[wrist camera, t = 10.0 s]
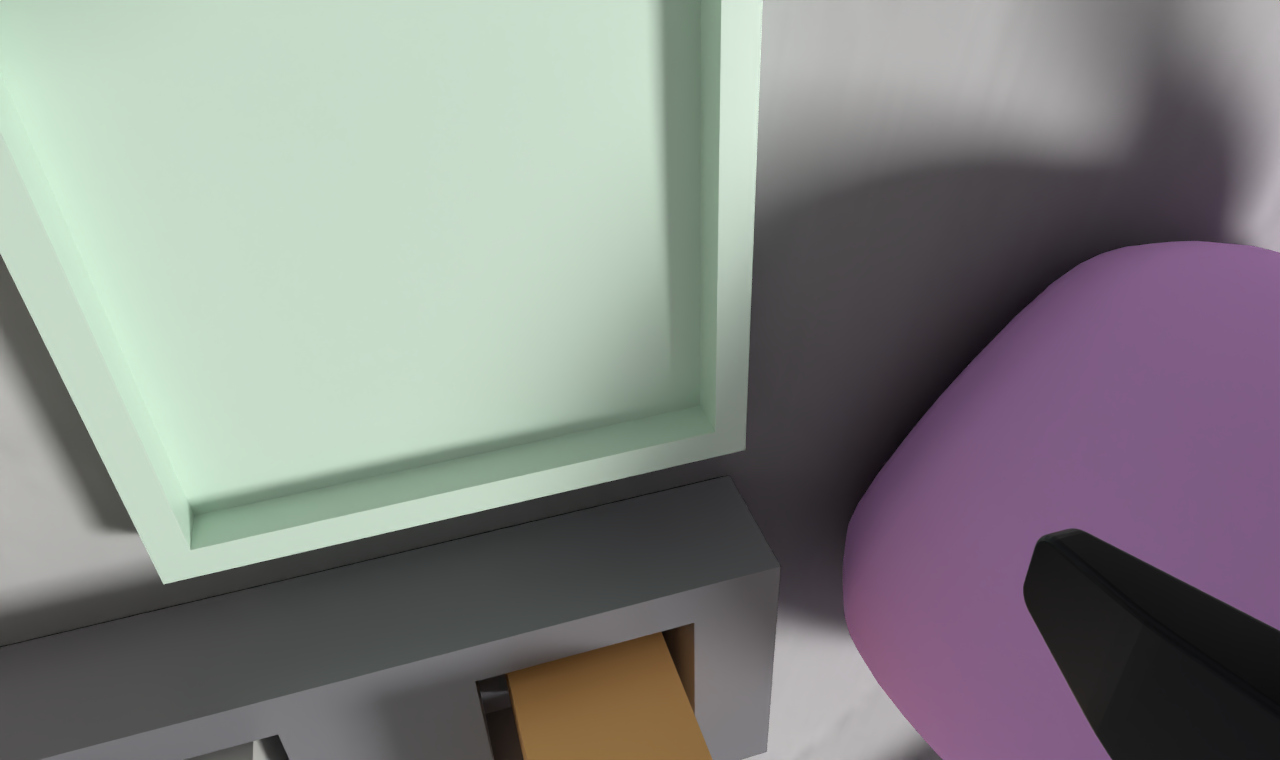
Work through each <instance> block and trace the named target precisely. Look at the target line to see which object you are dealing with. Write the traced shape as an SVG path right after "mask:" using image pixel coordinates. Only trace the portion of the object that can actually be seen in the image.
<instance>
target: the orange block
mask: <svg viewBox="0 0 1280 760" xmlns="http://www.w3.org/2000/svg"><path fill="white" fill-rule="evenodd" d="M505 677H506V682H507V687H508V692H509V697H510V701H511V706H512V710H513V715H514V719H515V724H516V728H517V733H518V737H519V742H520V746H521V750H522V755H523V759H524V760H712V757H711V755H710V752H709V750H708V747H707V745H706V742H705V740H704V737H703V735H702V732H701V730H700V727H699V725H698V722H697V720H696V717H695V715H694V712H693V710H692V707H691V705H690V702H689V700H688V697H687V695H686V692H685V690H684V687H683V685H682V682H681V680H680V677H679V675H678V672H677V670H676V667H675V665H674V662H673V660H672V657H671V655H670V652H669V650H668V647H667V645H666V642H665V640H664V637H663V635H662V632H658V633H654V634H650V635H647V636H643V637H639V638H635V639H632V640H628V641H624V642H620V643H617V644H613V645H609V646H606V647H602V648H598V649H594V650H591V651H587V652H583V653H580V654H576V655H572V656H568V657H565V658H561V659H557V660H553V661H550V662H546V663H542V664H539V665H535V666H531V667H527V668H524V669H520V670H516V671H512V672H509V673H505Z"/></svg>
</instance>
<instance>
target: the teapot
mask: <svg viewBox="0 0 1280 760" xmlns="http://www.w3.org/2000/svg"><path fill="white" fill-rule="evenodd" d="M1070 528H1076V529H1080V530H1083V531H1086V532H1088V533H1090V534H1092V535H1094V536H1096V537H1098V538H1100V539H1101V540H1103V541H1105V542H1107V543H1109V544H1111V545H1113V546H1115V547H1117V548H1119V549H1121V550H1123V551H1125V552H1127V553H1129V554H1131V555H1133V556H1135V557H1137V558H1139V559H1141V560H1143V561H1145V562H1147V563H1149V564H1151V565H1152V566H1154V567H1156V568H1158V569H1160V570H1162V571H1164V572H1166V573H1168V574H1170V575H1172V576H1174V577H1176V578H1178V579H1180V580H1182V581H1184V582H1186V583H1188V584H1190V585H1192V586H1194V587H1196V588H1198V589H1200V590H1201V591H1203V592H1205V593H1207V594H1209V595H1211V596H1213V597H1215V598H1217V599H1219V600H1221V601H1223V602H1225V603H1227V604H1229V605H1231V606H1233V607H1235V608H1237V609H1239V610H1241V611H1243V612H1245V613H1247V614H1249V615H1251V616H1252V617H1254V618H1256V619H1258V620H1260V621H1262V622H1264V623H1266V624H1268V625H1270V626H1272V627H1274V628H1276V629H1278V630H1280V253H1279V252H1275V251H1271V250H1267V249H1263V248H1259V247H1255V246H1248V245H1237V244H1227V243H1216V242H1203V241H1173V242H1163V243H1153V244H1144V245H1137V246H1127V247H1123V248H1119V249H1115V250H1112V251H1108V252H1105V253H1101V254H1099V255H1097V256H1095V257H1093V258H1091V259H1089V260H1087V261H1085V262H1082V263H1080V264H1078V265H1077V266H1076V267H1074V268H1073V269H1071V270H1070V271H1069V272H1067V273H1066V274H1064V275H1063V276H1061V277H1060V278H1059V279H1057V280H1056V281H1054V282H1053V283H1052V284H1051V285H1049V286H1048V287H1047V288H1046V289H1045V290H1044V291H1043V292H1042V293H1041V294H1039V295H1038V296H1037V297H1036V298H1035V299H1034V300H1033V301H1032V302H1031V303H1030V304H1028V305H1027V306H1026V307H1025V308H1024V309H1023V310H1022V311H1021V312H1020V313H1018V314H1017V315H1016V316H1015V317H1014V318H1013V319H1012V320H1011V321H1010V322H1009V323H1008V324H1007V326H1006V327H1005V328H1004V329H1003V330H1002V331H1001V332H1000V333H999V334H998V335H997V336H996V337H995V338H994V339H993V340H992V341H991V342H990V343H989V344H988V345H987V346H986V347H985V348H984V349H983V350H982V351H981V352H980V353H979V354H978V355H977V356H976V357H975V358H974V359H973V360H972V361H971V363H970V364H969V365H968V366H967V367H966V368H965V369H964V370H963V371H962V372H961V373H960V375H959V376H958V377H957V378H956V379H955V380H954V381H953V382H952V383H951V384H950V385H949V387H948V388H947V389H946V390H945V391H944V392H943V393H942V394H941V395H940V397H939V398H938V399H937V400H936V401H935V403H934V404H933V405H932V406H931V407H930V409H929V410H928V411H927V412H926V413H925V415H924V416H923V417H922V418H921V419H920V421H919V422H918V423H917V424H916V425H915V427H914V428H913V429H912V430H911V431H910V433H909V434H908V435H907V437H906V438H905V439H904V440H903V442H902V443H901V444H900V446H899V447H898V448H897V449H896V451H895V452H894V453H893V455H892V456H891V457H890V459H889V460H888V461H887V462H886V464H885V465H884V466H883V468H882V469H881V470H880V471H879V473H878V474H877V476H876V477H875V479H874V480H873V482H872V483H871V485H870V486H869V488H868V489H867V491H866V492H865V494H864V495H863V497H862V498H861V500H860V501H859V503H858V505H857V507H856V509H855V511H854V513H853V516H852V518H851V520H850V522H849V524H848V529H847V535H846V541H845V551H844V558H843V602H844V616H845V619H846V623H847V626H848V630H849V633H850V636H851V638H852V640H853V642H854V643H855V645H856V647H857V649H858V651H859V653H860V655H861V656H862V658H863V659H864V661H865V663H866V664H867V666H868V667H869V669H870V671H871V672H872V674H873V676H874V677H875V679H876V680H877V682H878V683H879V685H880V686H881V687H882V689H883V690H884V691H885V692H886V694H887V695H888V696H889V698H890V699H891V700H892V701H893V703H894V704H895V705H896V707H897V708H898V709H899V710H900V712H901V713H902V714H903V715H904V717H905V718H906V719H907V720H908V721H909V722H910V724H911V725H912V726H913V727H914V728H915V729H916V731H917V732H918V733H919V734H920V735H921V736H922V737H923V739H924V740H925V741H926V742H927V743H928V744H929V745H930V747H931V748H932V749H933V750H934V751H935V752H936V753H937V754H938V755H939V756H940V757H941V758H942V759H943V760H1112V759H1111V758H1110V756H1109V755H1108V753H1107V752H1106V750H1105V749H1104V747H1103V745H1102V744H1101V742H1100V741H1099V739H1098V738H1097V736H1096V735H1095V733H1094V731H1093V729H1092V728H1091V726H1090V724H1089V722H1088V721H1087V719H1086V717H1085V715H1084V714H1083V712H1082V710H1081V708H1080V706H1079V704H1078V702H1077V701H1076V699H1075V697H1074V695H1073V693H1072V691H1071V689H1070V688H1069V686H1068V684H1067V682H1066V680H1065V678H1064V676H1063V674H1062V673H1061V671H1060V669H1059V667H1058V665H1057V663H1056V661H1055V660H1054V658H1053V656H1052V654H1051V652H1050V650H1049V648H1048V646H1047V645H1046V643H1045V641H1044V639H1043V637H1042V635H1041V633H1040V632H1039V630H1038V628H1037V626H1036V624H1035V622H1034V620H1033V618H1032V617H1031V615H1030V613H1029V611H1028V609H1027V606H1026V604H1025V601H1024V595H1023V585H1024V581H1025V577H1026V574H1027V571H1028V568H1029V564H1030V561H1031V558H1032V554H1033V551H1034V548H1035V545H1036V542H1037V541H1038V539H1039V538H1041V537H1042V536H1043V535H1046V534H1050V533H1054V532H1057V531H1061V530H1065V529H1070Z"/></svg>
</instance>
